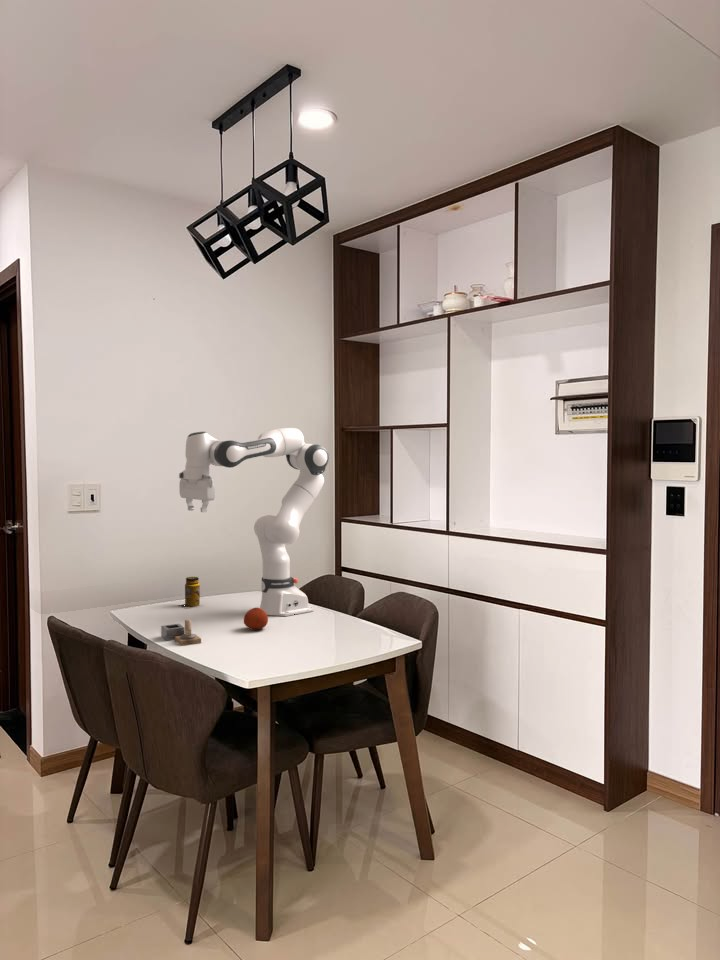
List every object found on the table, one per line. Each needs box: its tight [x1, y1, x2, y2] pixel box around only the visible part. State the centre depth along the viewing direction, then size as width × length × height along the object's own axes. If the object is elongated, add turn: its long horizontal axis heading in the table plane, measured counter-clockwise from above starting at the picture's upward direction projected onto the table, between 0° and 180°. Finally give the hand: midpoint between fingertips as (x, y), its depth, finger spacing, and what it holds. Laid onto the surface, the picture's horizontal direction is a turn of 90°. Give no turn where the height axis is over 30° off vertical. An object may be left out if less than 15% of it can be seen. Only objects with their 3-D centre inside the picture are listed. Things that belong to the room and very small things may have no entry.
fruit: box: [243, 607, 269, 630], centre depth 272 cm, size 9×9×8 cm
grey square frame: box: [160, 623, 185, 642], centre depth 260 cm, size 6×6×4 cm
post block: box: [174, 619, 202, 647], centre depth 254 cm, size 7×7×8 cm
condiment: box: [177, 576, 204, 609], centre depth 310 cm, size 7×8×12 cm
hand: (197, 511), depth 278 cm, fingers open, 8 cm apart
